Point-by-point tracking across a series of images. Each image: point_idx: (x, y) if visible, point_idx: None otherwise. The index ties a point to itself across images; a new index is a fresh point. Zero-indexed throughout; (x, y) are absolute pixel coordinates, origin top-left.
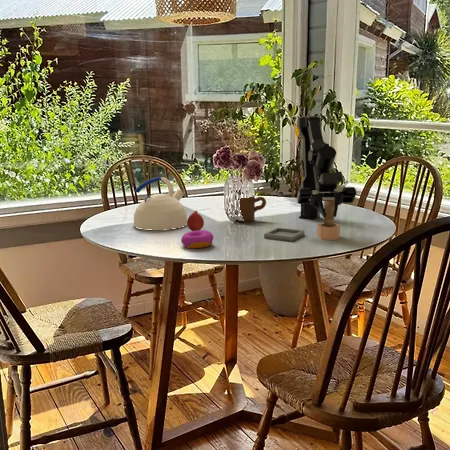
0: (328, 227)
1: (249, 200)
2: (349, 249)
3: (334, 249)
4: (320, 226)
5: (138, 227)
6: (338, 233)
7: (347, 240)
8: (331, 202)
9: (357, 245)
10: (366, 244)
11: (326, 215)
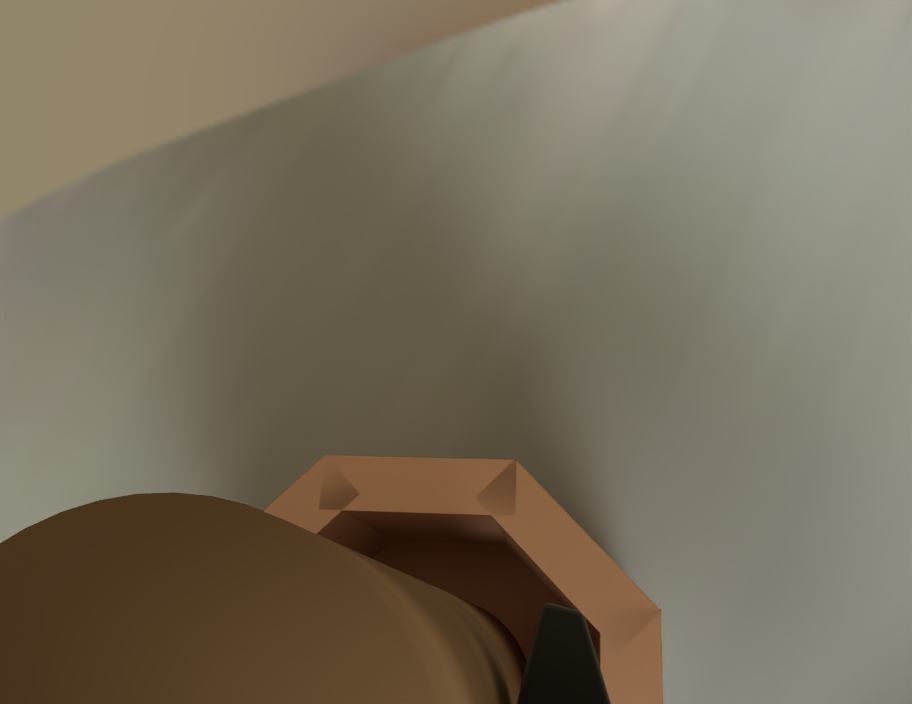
0: (527, 473)
1: None
2: (460, 41)
3: (649, 84)
4: (660, 636)
5: None
6: None
7: (223, 462)
8: (195, 504)
9: (257, 177)
10: (120, 189)
11: (483, 643)
